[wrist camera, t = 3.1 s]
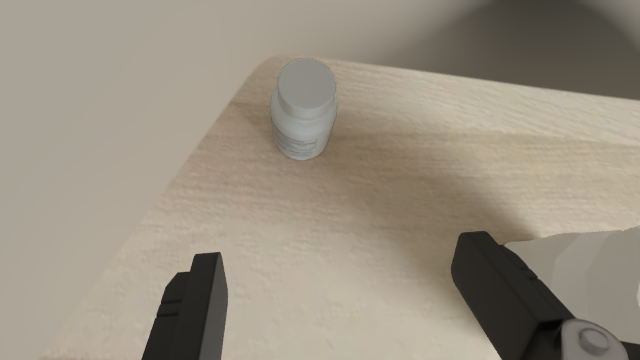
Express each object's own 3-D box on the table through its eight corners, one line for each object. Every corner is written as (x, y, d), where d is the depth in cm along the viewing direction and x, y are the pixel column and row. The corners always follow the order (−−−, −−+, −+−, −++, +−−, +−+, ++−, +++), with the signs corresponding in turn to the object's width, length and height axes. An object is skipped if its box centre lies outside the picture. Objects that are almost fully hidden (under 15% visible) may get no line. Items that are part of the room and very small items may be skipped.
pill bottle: (300, 100, 28) (306, 36, 20) (339, 136, 27) (360, 85, 20) (261, 134, 27) (252, 80, 19) (300, 172, 26) (307, 133, 19)
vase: (569, 237, 27) (783, 211, 15) (598, 358, 25) (874, 433, 13) (466, 242, 26) (611, 218, 14) (486, 368, 24) (677, 458, 12)
